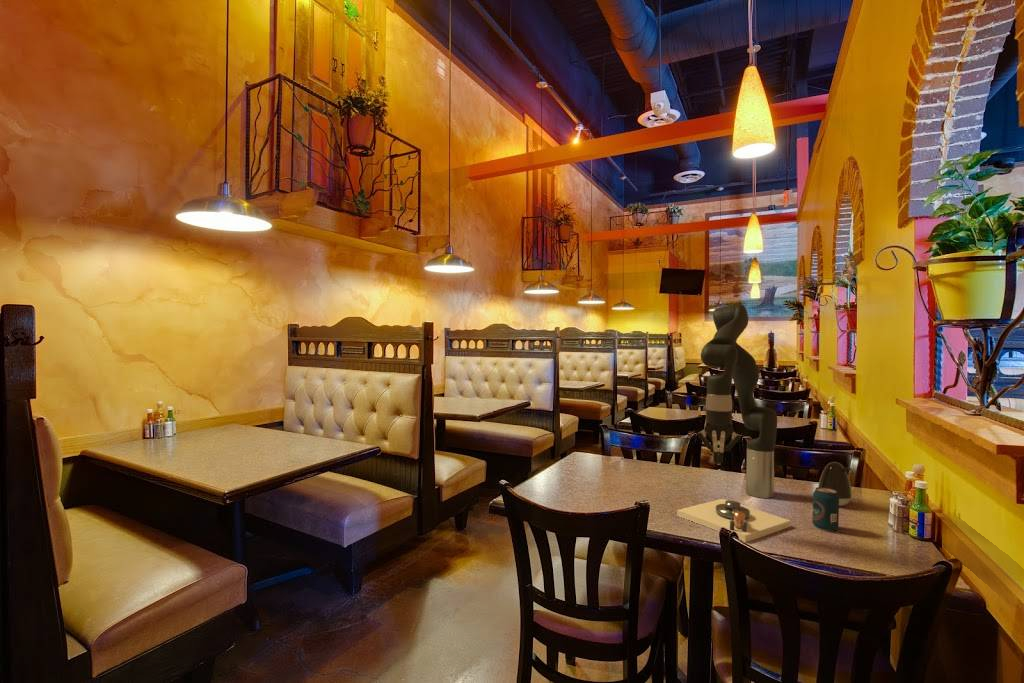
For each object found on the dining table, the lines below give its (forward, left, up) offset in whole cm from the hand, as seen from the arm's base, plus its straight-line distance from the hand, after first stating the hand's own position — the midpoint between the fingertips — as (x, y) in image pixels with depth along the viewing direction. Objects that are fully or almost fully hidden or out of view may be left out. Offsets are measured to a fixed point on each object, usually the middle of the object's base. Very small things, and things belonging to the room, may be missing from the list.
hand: (718, 463), depth 154 cm
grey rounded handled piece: (-5, +2, -17) cm, 18 cm away
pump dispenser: (-57, +8, -20) cm, 61 cm away
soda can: (-29, +18, -20) cm, 40 cm away
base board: (-8, 0, -20) cm, 21 cm away
